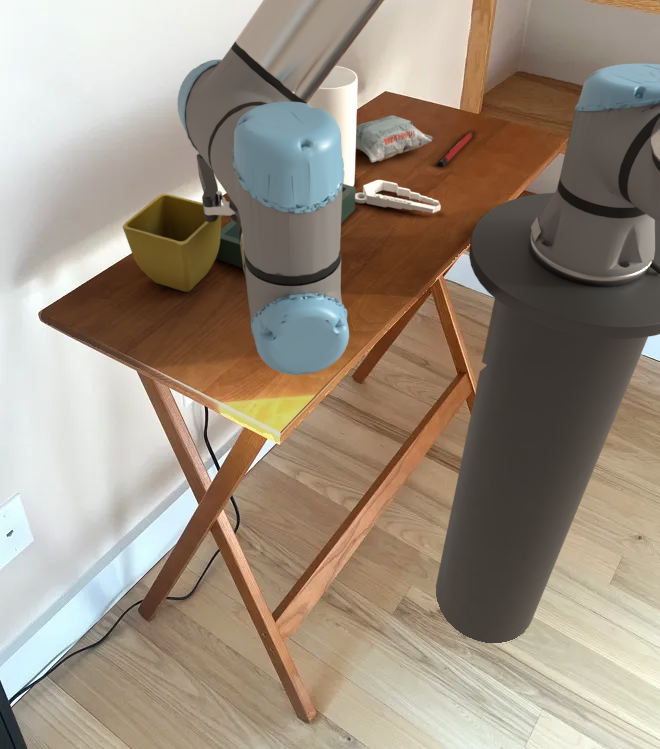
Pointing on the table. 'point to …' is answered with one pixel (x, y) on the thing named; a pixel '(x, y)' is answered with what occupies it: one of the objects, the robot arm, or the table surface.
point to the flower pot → (173, 241)
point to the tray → (230, 237)
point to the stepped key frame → (387, 201)
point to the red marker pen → (455, 149)
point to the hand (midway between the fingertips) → (255, 129)
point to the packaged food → (388, 137)
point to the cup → (341, 112)
